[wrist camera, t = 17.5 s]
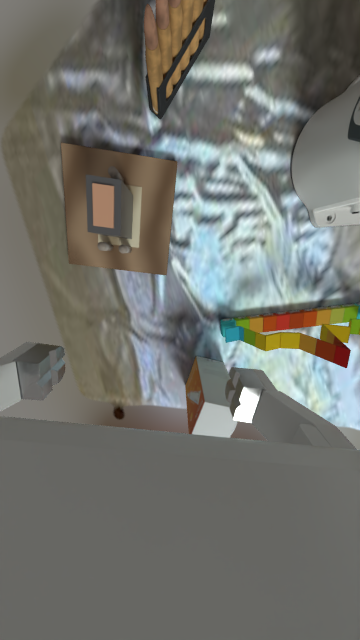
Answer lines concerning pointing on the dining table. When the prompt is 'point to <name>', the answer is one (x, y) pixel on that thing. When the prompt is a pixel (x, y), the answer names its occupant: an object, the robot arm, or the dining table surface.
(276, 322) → the chart
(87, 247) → the board
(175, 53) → the ammunition clip
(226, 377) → the small box
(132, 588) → the robot arm
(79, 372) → the dining table surface
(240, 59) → the dining table surface
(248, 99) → the dining table surface
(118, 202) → the plug block
